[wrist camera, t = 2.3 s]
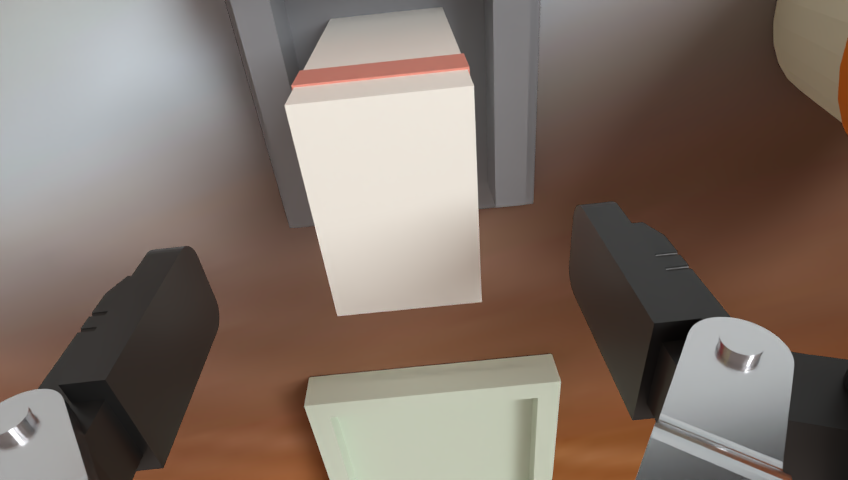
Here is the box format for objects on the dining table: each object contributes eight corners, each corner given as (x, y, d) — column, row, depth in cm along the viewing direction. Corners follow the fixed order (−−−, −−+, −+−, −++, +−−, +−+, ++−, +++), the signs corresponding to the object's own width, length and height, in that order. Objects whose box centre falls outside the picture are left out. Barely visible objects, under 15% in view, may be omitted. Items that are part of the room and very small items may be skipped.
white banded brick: (443, 5, 18) (476, 83, 11) (453, 161, 22) (483, 303, 14) (328, 17, 18) (281, 103, 11) (356, 171, 22) (336, 317, 14)
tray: (551, 353, 29) (561, 381, 28) (542, 488, 37) (548, 515, 35) (309, 377, 29) (304, 406, 28) (350, 505, 37) (348, 534, 36)
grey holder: (541, -164, 16) (586, -181, 12) (530, 196, 23) (556, 255, 20) (195, -125, 16) (133, -131, 12) (292, 221, 23) (272, 284, 20)
